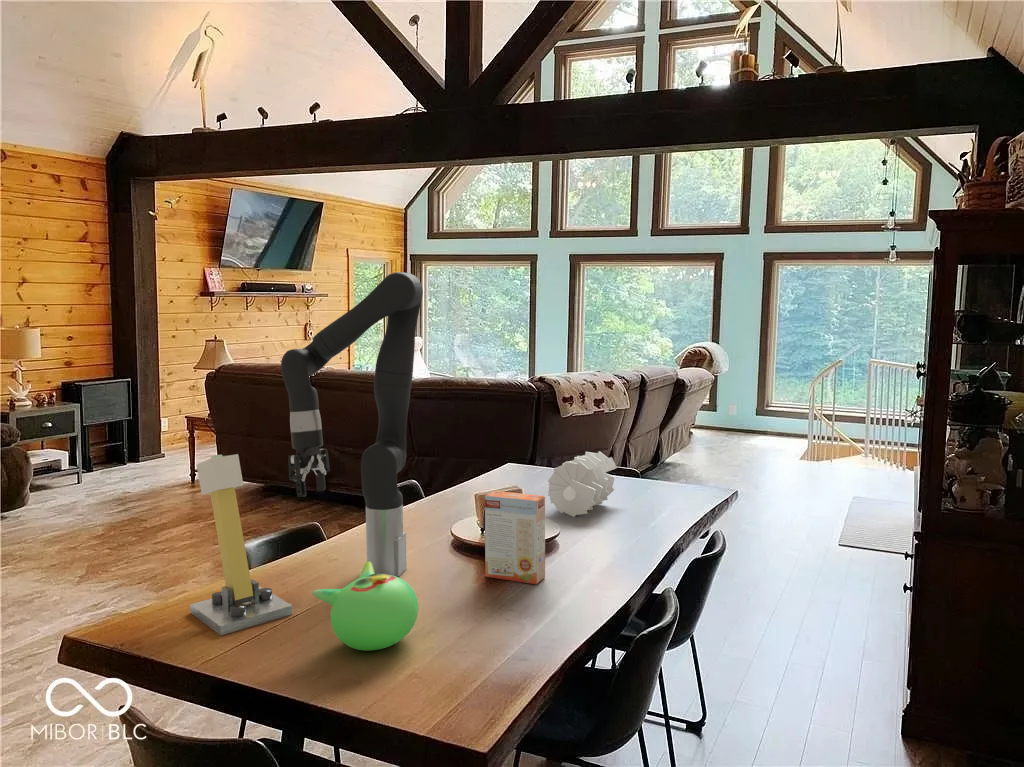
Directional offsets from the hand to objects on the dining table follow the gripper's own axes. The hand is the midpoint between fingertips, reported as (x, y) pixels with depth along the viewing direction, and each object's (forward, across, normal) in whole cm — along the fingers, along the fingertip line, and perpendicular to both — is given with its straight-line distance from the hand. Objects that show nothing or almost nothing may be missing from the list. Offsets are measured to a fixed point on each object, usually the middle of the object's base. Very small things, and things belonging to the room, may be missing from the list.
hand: (312, 493), depth 195 cm
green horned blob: (+26, -31, -32) cm, 51 cm away
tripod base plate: (+22, -26, +3) cm, 34 cm away
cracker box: (+25, +14, -47) cm, 55 cm away
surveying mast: (+19, -27, +2) cm, 33 cm away
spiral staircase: (+22, +81, -48) cm, 96 cm away
